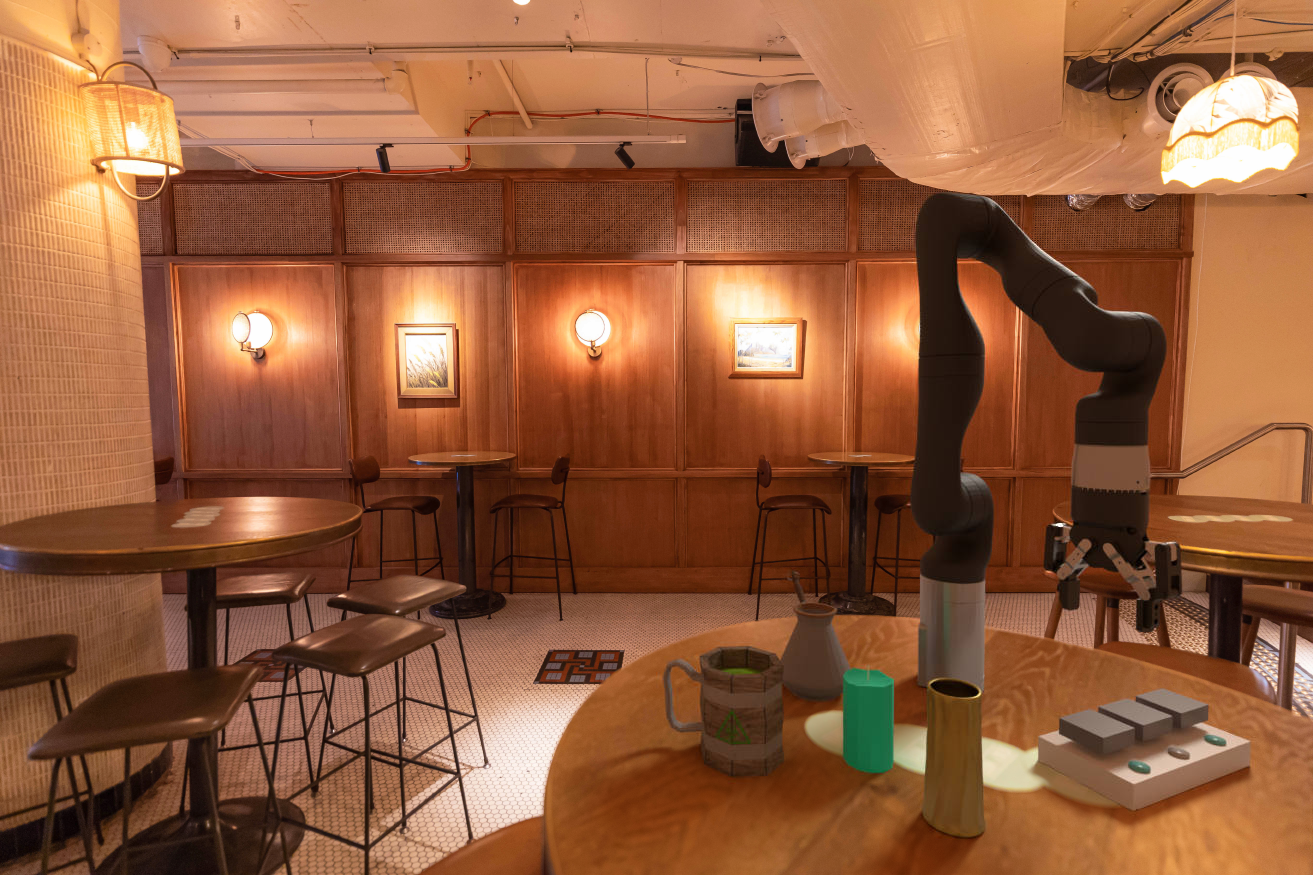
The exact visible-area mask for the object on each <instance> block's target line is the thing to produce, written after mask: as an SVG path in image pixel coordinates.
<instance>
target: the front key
mask: <svg viewBox="0 0 1313 875" xmlns="http://www.w3.org/2000/svg"><path fill="white" fill-rule="evenodd" d="M1058 719H1059V720H1058V730H1059V734H1060V735H1062V736H1064V737H1066V738H1068V739H1070V740H1072V741H1075V742H1077V743H1079V744H1081V745H1083V746H1085V747H1087V748H1089V749H1091V750H1093V751H1095V752H1097V753H1099V754H1101V755H1105V754H1108V753H1111V752H1114V751H1117V750H1120V749H1123V748H1126V747H1129V746H1132V745H1135V728H1134V727H1131V726H1129V725H1127V724H1124V723H1122V722H1119V721H1117V720H1115V719H1112V718H1110V717H1108V716H1105V715H1103V714H1101V713H1098V711H1096V710H1093V709H1092V708H1088V709H1085V710H1082V711H1079V712H1074V713H1071V714H1068V715H1064V716H1061V717H1059V718H1058Z"/></svg>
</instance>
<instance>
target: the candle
mask: <svg viewBox="0 0 1313 875" xmlns="http://www.w3.org/2000/svg"><path fill="white" fill-rule="evenodd" d="M894 698H895V678H893V677H890V676H889V675H887V674H885V673H883V672H882V671H881V670H879V669H870V665H869V664H867V669H865V668H864V669H863V668H858V667H857V668H856V667H852V668H851V669H850V670H847V671H845V673H844V676H843V693H842V758H843V760H844V761H845V764H847V765H848V766H849V767H852V768H853V769H855V770H857V771H860V772H864V773H869V774H881V773H882V774H883V773H886V772H888V771H890V770H892V769H893V766H894V753H895V752H894V746H895V745H894V736H895V735H894V734H895V732H894V729H895V728H894V726H895V720H894V719H895V716H894V714H895V711H894V708H895V704H894V703H895V699H894Z"/></svg>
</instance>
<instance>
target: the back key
mask: <svg viewBox="0 0 1313 875" xmlns="http://www.w3.org/2000/svg"><path fill="white" fill-rule="evenodd" d="M1134 701H1135V702H1138V703H1140V704H1143V705H1145V706H1148V707H1151V708H1153V709H1156V710H1158V711H1161V712H1163V713H1166V714H1169V715H1171V716H1173V722H1172V726H1174V727H1176V728H1179V729H1184V728H1187V727H1190V726H1193V725H1196V724H1199V723H1204V722H1207V721H1209V704H1208V703H1205V702H1202V701H1199V700H1197V699H1194V698H1191V697H1189V696H1185V695H1183V694H1180V693H1177V692H1174V691H1172V690H1169V689H1166V688H1163V687H1162V688H1158V689H1155V690H1152V691H1148V692H1145V693H1141V694H1137V695H1135V700H1134Z"/></svg>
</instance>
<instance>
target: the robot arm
mask: <svg viewBox="0 0 1313 875" xmlns="http://www.w3.org/2000/svg"><path fill="white" fill-rule="evenodd" d="M916 217H917V218H916V222H915V232H914V233H915V234H914V244H915V245H914V246H915V257H916V258H915V259H916V269H917V270H916V272H917V279H918V280H917V281H918V293H919V294H918V295H919V341H918V342H919V343H918V344H919V346H918V360H917V362H918V364H917V366H918V368H917V377H918V378H917V385H918V387H917V389H918V396H917V397H918V400H917V401H918V402H917V403H918V405H917V423H916V424H917V426H916V446H915V455H914V460H913V461H914V462H913V469H912V475H911V476H912V478H911V483H910V484H911V485H910V499H909V500H910V510H911V514H912V517H913V520H914V522H915V523H916V524H917V526H918V527H919V528H920V529H921V530H922V531H923V532H924V533H926V534H928V535H930V536H935V539H934V542H933V544H932V545H931V546H930V548H928V549H927V551H926V552H924V553H922V554H923V555H921V557H920V565H919V568H920V569H919V572H920V575H919V580H920V581H919V582H920V583H919V586H920V587H919V623H918V626H917V627H918V629H917V685H918V686H919V687H924V688H927V684H928V682H929V681H930V680H932V679H935V678H955V679H960V680H964V681H967V682H970V683H972V684H974V685H976V686H977V687H979V688H980V690H981V692H982V693H983V692H984V690H985V638H986V637H985V636H986V635H985V634H986V632H985V628H986V627H985V624H986V620H985V615H986V611H985V610H986V609H985V608H986V572H987V567H988V565H989V563H990V561H991V557H992V552H993V539H994V538H993V535H994V521H995V520H994V519H995V506H994V499H993V494H992V492H991V490H990V488H989V486H988V484H987V483H986V481H985V480H984V479H982V478H981V477H980V476H977V475H976V474H974V473H970V472H962V471H961V469H962V466H961V464H962V463H961V462H962V460H961V458H962V447H963V442H964V438H965V435H966V432H967V429H968V428H969V425H970V423H971V421H972V419H973V416H974V414H975V412H976V410H977V408H978V405H979V403H980V401H981V399H982V395H983V391H984V388H985V387H984V386H985V378H986V377H985V375H986V374H985V370H986V369H985V368H986V360H985V359H986V345H985V341H984V337H983V334H982V332H981V329H980V328H979V326H978V324H977V322H976V320H975V318H974V315H973V314H972V312H971V310H970V308H969V306H968V305H967V303H966V301H965V298H964V297H963V294H962V291H961V288H960V287H961V286H960V283H959V272H958V270H959V269H958V259H959V260H961V259H962V260H964V259H965V260H969V259H972V260H976V261H979V262H981V263H983V264H985V265H987V266H988V267H990V268H992V269H994V271H996V272H997V273H998V274H999V276H1000V279H1001V283H1002V284H1001V285H1002V287H1003V289H1004V291H1005V292H1004V293H1005V294H1006V296H1007V298H1008V299H1009V300H1010V301H1011V302H1012V303H1013V305H1014V306H1016V308H1017V309H1019V310H1020V311H1021V312H1022V313H1023V314H1025V315H1026V316H1027V317H1028V318H1029V319H1031V320H1032V321H1033V322H1035V324H1037V325H1038V326H1039V327H1041V328H1042V330H1043V332H1044V334H1045V336H1046V338H1047V339H1048V340H1049V342H1050V344H1051V345H1052V347H1053V349H1054V350H1055V351H1056V354H1057V355H1058V356H1059V357H1060V358H1061V359H1062V360H1063V361H1064V362H1065V363H1066V364H1069V365H1070V366H1072V367H1073V368H1074V369H1077V370H1079V371H1082V372H1087V373H1103V374H1102V379H1101V381H1100V384H1099V387H1098V389H1097V390H1096V391H1095V392H1094V393H1090V394H1087V395H1085V396H1083V397H1081V398H1080V399H1079V400H1078V401H1077V403H1076V406H1075V412H1074V415H1075V416H1074V447H1073V448H1074V449H1073V454H1072V459H1071V472H1070V474H1071V475H1070V476H1071V477H1070V480H1071V481H1070V482H1071V484H1070V518H1071V520H1072V526H1069V525H1068V524H1067V523H1065V522H1060V523H1051V524H1048V525H1047V526H1046V527H1045V541H1044V552H1043V555H1044V556H1043V566H1042V567H1043V568H1044V569H1045V570H1046V571H1047V572H1052V573H1053V574H1055V575H1057V577H1058V579H1059V580H1058V581H1059V582H1058V583H1059V584H1058V590H1059V592H1058V600H1059V603H1060V604H1061V607H1062V608H1063V610H1066V611H1070V612H1071V611H1076V610H1078V609H1079V608H1080V600H1081V596H1080V595H1081V594H1080V593H1081V579H1079V578H1078V577H1079V576H1080V575H1081V574H1082V573H1083V572H1084V571H1085V570H1086V569H1087V568H1088V567H1090V568H1094V569H1103V570H1105V571H1108V572H1111V573H1115V574H1116V573H1120V574H1121V576H1122V577H1123V578H1122V579H1124V580H1125V581H1126V582H1127V583H1129V584H1130V585H1131V586H1132V588H1133V589H1134V591H1135V593H1137V596H1138V597H1139V598H1136V605H1135V606H1136V607H1135V608H1136V609H1135V610H1136V612H1135V630H1136V631H1137V632H1139V633H1143V634H1147V633H1151V632H1154V630H1155V629H1157V628H1159V626H1160V624H1161V623H1160V622H1161V601H1162V600H1167V599H1171V598H1177V597H1181V596H1182V594H1183V579H1182V577H1183V574H1182V555H1181V554H1182V553H1181V552H1182V550H1181V545H1180V544H1179V543H1178V542H1176V541H1167V542H1159V541H1152V540H1150V539H1149V536H1148V533H1147V532H1148V531H1147V529H1148V526H1149V523H1150V494H1151V493H1150V492H1151V489H1150V488H1151V486H1150V485H1151V461H1150V454H1149V446H1148V445H1149V409H1150V406H1151V403H1152V401H1153V400H1154V399H1153V398H1154V396H1155V394H1156V390H1157V387H1158V383H1159V380H1160V377H1161V374H1162V371H1163V369H1164V364H1165V360H1166V356H1167V350H1168V349H1167V348H1168V344H1167V336H1166V332H1165V330H1164V328H1163V326H1162V325H1161V323H1160V322H1159V320H1158V318H1156V317H1154V316H1153V315H1150V314H1149V313H1146V312H1141V311H1120V310H1119V311H1118V310H1117V311H1115V310H1113V311H1112V310H1105V309H1103V308H1100V307H1099V306H1098V303H1099V296H1098V294H1097V291H1096V289H1095V288H1093V286H1092V285H1091V284H1090V283H1089V282H1088V281H1086V280H1085V279H1084V278H1082V277H1081V276H1079V275H1078V274H1076V273H1075V272H1073V271H1072V270H1070V269H1069V267H1066V266H1065V265H1064V264H1063V263H1061V262H1059V261H1057V260H1056V259H1054V258H1053V257H1052V256H1051V255H1049V254H1048V253H1047V252H1045V251H1044V250H1042V249H1041V248H1040V247H1039V246H1038V245H1037V244H1036V243H1035V242H1034V241H1032V240H1031V239H1030V237H1029V236H1028V235H1027V234H1026V233H1025V232H1024V231H1023V230H1022V229H1021V228H1020V226H1018V225H1017V224H1016V223H1015V221H1014V220H1013V219H1012V218H1011V217H1010V215H1009V214H1007V212H1006V211H1005V210H1004V209H1003V208H1002V207H1001V206H1000V205H999V204H998V203H997V202H995V201H994V200H993V199H991V198H989V197H987V196H984V195H976V194H967V193H966V194H964V193H958V192H944V191H943V192H935V193H933V194H931V195H930V196H928V197H927V198H926V199H925V201H923V203H922V205H921V206H920V209H919V211H918V213H917V216H916ZM1069 541H1071V543H1072V544H1073V545H1074V547H1075V549H1074V550H1073V551H1072V552H1071V553H1070V554H1069V556H1067V549H1068V542H1069ZM1147 553H1149V554H1150V559H1151V560H1153V561H1154V567H1155V568H1154V569H1155V577H1154V571H1153V570H1152V568H1151V566H1150V565H1149V564H1148V562H1147V560H1145V558H1144V557H1145V556H1146V555H1147Z"/></svg>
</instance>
